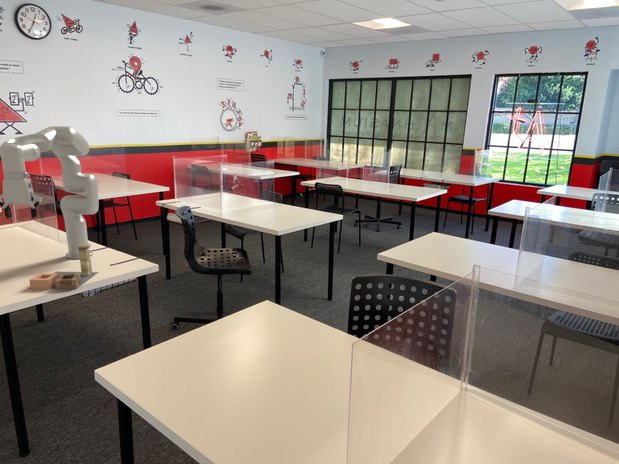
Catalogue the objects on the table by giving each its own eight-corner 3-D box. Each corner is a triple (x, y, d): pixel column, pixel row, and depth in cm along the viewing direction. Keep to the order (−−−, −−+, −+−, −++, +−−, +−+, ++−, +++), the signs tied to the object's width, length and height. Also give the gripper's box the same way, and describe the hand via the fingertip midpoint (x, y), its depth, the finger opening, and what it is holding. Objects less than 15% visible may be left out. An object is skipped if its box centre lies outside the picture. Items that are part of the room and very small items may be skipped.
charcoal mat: (55, 272, 208) (55, 271, 208) (98, 273, 208) (98, 272, 208) (28, 289, 188) (28, 288, 188) (76, 290, 188) (75, 289, 188)
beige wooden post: (85, 273, 207) (81, 244, 203) (92, 273, 207) (88, 244, 203) (81, 275, 204) (78, 246, 200) (88, 275, 204) (85, 246, 200)
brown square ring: (61, 283, 194) (59, 274, 193) (81, 281, 196) (80, 273, 195) (56, 290, 187) (54, 281, 186) (77, 288, 189) (75, 279, 188)
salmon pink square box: (41, 281, 196) (40, 273, 195) (60, 282, 196) (58, 273, 195) (30, 288, 188) (29, 279, 187) (49, 289, 188) (48, 280, 187)
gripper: (42, 174, 184) (48, 215, 188) (-3, 174, 181) (4, 215, 186) (34, 177, 177) (40, 219, 181) (-14, 177, 174) (-6, 220, 179)
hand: (21, 217), depth 183 cm, fingers open, 9 cm apart
